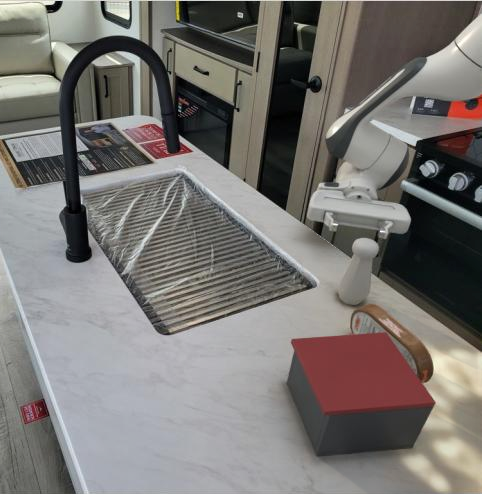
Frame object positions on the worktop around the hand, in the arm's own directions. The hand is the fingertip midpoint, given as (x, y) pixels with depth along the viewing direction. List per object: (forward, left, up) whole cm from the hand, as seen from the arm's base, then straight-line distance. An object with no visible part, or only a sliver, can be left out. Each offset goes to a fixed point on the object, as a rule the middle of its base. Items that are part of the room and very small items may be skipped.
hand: (358, 232), depth 96 cm
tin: (+6, +26, -8) cm, 28 cm away
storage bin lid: (+17, +35, +1) cm, 39 cm away
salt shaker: (+4, +10, -8) cm, 14 cm away
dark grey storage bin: (+16, +35, -8) cm, 40 cm away
